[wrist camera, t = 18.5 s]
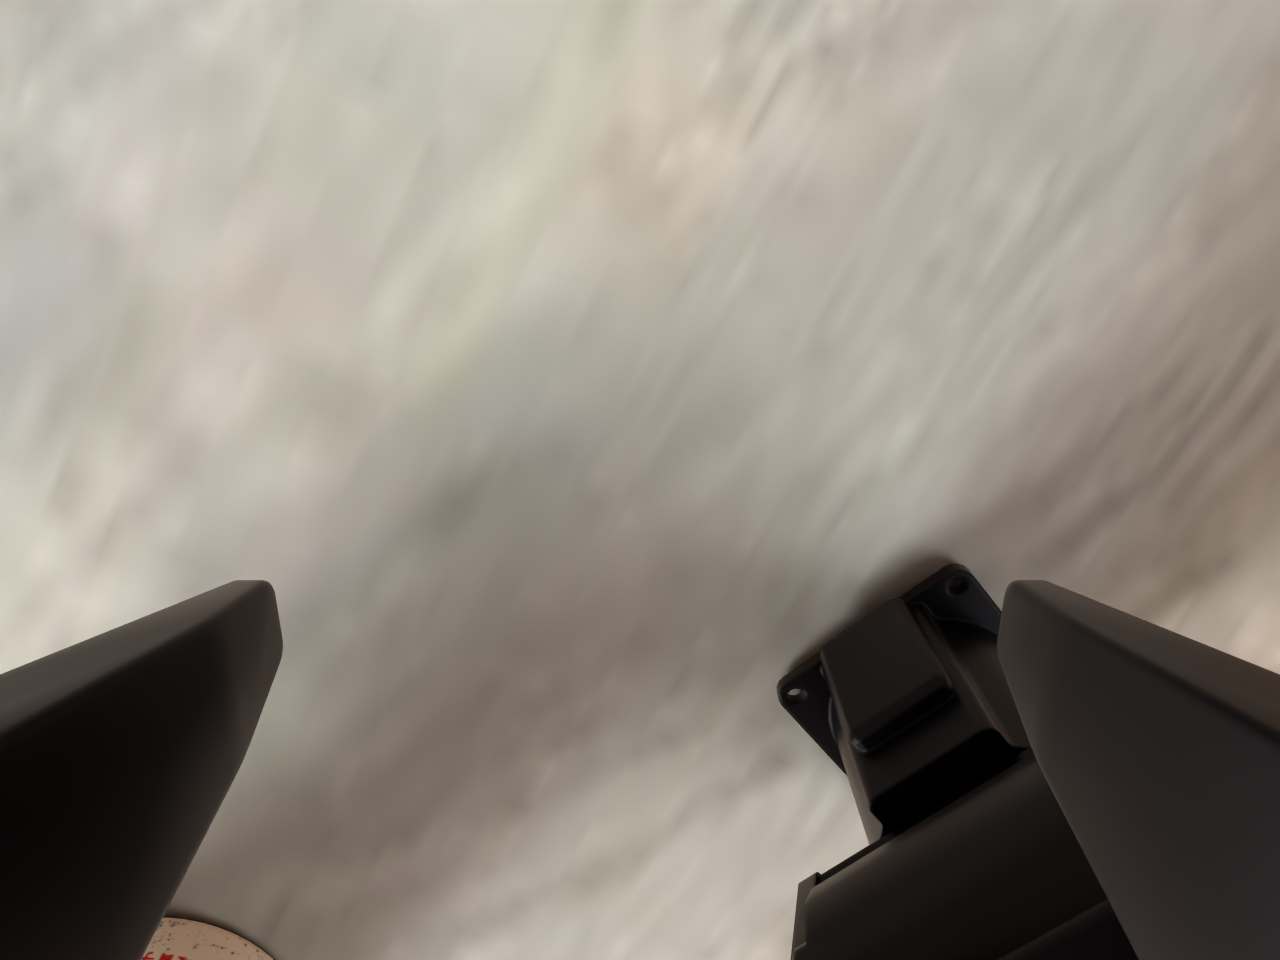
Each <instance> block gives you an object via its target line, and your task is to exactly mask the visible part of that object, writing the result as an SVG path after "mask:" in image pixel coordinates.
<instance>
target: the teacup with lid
mask: <svg viewBox="0 0 1280 960" xmlns="http://www.w3.org/2000/svg"><path fill="white" fill-rule="evenodd" d="M141 960H273V959H272V958H271V957H270V956H269V955H268V954H266V953H265V952H264V951H263V950H261V949H260V948H258V947H257V946H255V945H254V944H252V943H251V942H249V941H247V940H245V939H243V938H242V937H240V936H238V935H235V934H233V933H231V932H229V931H226V930H224V929H221V928H218V927H215V926H212V925H209V924H205V923H201V922H197V921H192V920H186V919H178V918H162V920H161V922H160V924H159V926H158V928H157V930H156V932H155V934H154V936H153V938H152V940H151V941H150V943H149V945H148V947H147V949H146V951H145V953H144V955H143V957H142V959H141Z"/></svg>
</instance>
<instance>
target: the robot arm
mask: <svg viewBox="0 0 1280 960" xmlns="http://www.w3.org/2000/svg"><path fill="white" fill-rule="evenodd" d="M957 578H961V579H962V583H961V584H960V585H959V586H958V587H955V588H949V584H950V582H951V581H952V580H954V579H957ZM282 651H283V640H282V633H281V627H280V621H279V615H278V609H277V602H276V596H275V592H274V589H273V587H272V585H271V584H270V583H269V582H267V581H264V580H237V581H233V582H230V583H228V584H225V585H223V586H220V587H218V588H215V589H213V590H210V591H208V592H205V593H203V594H200V595H198V596H195V597H193V598H190V599H188V600H185V601H183V602H180V603H178V604H175V605H173V606H170V607H168V608H165V609H163V610H160V611H158V612H155V613H153V614H150V615H148V616H145V617H143V618H140V619H138V620H135V621H133V622H130V623H128V624H125V625H123V626H120V627H118V628H115V629H113V630H110V631H108V632H105V633H103V634H100V635H98V636H95V637H93V638H90V639H88V640H85V641H83V642H80V643H78V644H75V645H73V646H70V647H68V648H65V649H63V650H60V651H58V652H55V653H53V654H50V655H48V656H45V657H43V658H40V659H38V660H36V661H33V662H31V663H28V664H26V665H23V666H21V667H18V668H16V669H13V670H11V671H8V672H6V673H3V674H1V675H0V960H141V959H142V957H143V955H144V953H145V951H146V949H147V947H148V945H149V943H150V941H151V940H152V938H153V936H154V934H155V932H156V930H157V928H158V926H159V924H160V922H161V920H162V918H163V916H164V914H165V912H166V910H167V908H168V906H169V905H170V903H171V901H172V899H173V897H174V895H175V893H176V891H177V889H178V887H179V885H180V883H181V881H182V879H183V877H184V875H185V873H186V871H187V870H188V868H189V866H190V864H191V862H192V860H193V858H194V856H195V854H196V852H197V850H198V848H199V846H200V844H201V842H202V840H203V838H204V836H205V835H206V833H207V831H208V829H209V827H210V825H211V823H212V821H213V819H214V817H215V815H216V813H217V811H218V809H219V807H220V805H221V803H222V801H223V800H224V798H225V796H226V794H227V792H228V790H229V788H230V786H231V784H232V782H233V780H234V778H235V776H236V774H237V772H238V770H239V768H240V766H241V764H242V762H243V759H244V757H245V754H246V752H247V750H248V747H249V745H250V742H251V739H252V737H253V734H254V731H255V728H256V726H257V723H258V720H259V718H260V715H261V712H262V710H263V707H264V704H265V701H266V699H267V696H268V693H269V691H270V688H271V685H272V683H273V680H274V677H275V674H276V672H277V669H278V666H279V664H280V661H281V657H282ZM792 689H801V690H802V691H801V692H800V693H799V694H798V695H795V696H794V695H789V694H788V692H789V691H790V690H792ZM777 694H778V698H779V701H780V703H781V705H782V706H783V707H784V708H785V709H786V710H787V711H788V713H789V714H790V715H791V716H792V717H793V718H794V719H795V720H796V721H797V722H798V723H799V724H800V725H801V727H802V728H803V729H804V730H805V731H806V732H807V733H808V734H809V735H810V736H811V737H812V738H813V740H814V741H815V742H816V743H817V744H818V745H819V746H820V747H821V748H822V749H823V750H824V751H825V752H826V754H827V755H828V756H829V757H830V758H831V759H832V760H833V761H834V762H835V763H836V764H837V765H838V767H839V768H840V769H841V770H842V771H843V772H844V773H845V774H846V775H847V776H848V779H849V782H850V786H851V789H852V792H853V795H854V798H855V801H856V804H857V807H858V811H859V814H860V817H861V820H862V823H863V826H864V829H865V832H866V835H867V839H868V842H869V846H867V847H866V848H864V849H862V850H861V851H859V852H857V853H856V854H854V855H853V856H851V857H849V858H848V859H846V860H844V861H843V862H841V863H840V864H838V865H836V866H835V867H833V868H831V869H830V870H828V871H827V872H825V873H823V874H822V875H821V874H820V873H819V872H816V873H815V874H813V875H811V876H810V877H808V878H806V879H805V880H803V881H802V882H800V883H799V885H798V894H797V904H796V914H795V923H794V933H793V943H792V953H791V960H1280V675H1279V674H1277V673H1274V672H1272V671H1269V670H1267V669H1264V668H1262V667H1259V666H1257V665H1254V664H1252V663H1249V662H1247V661H1244V660H1242V659H1240V658H1237V657H1235V656H1232V655H1230V654H1227V653H1225V652H1222V651H1220V650H1217V649H1215V648H1212V647H1210V646H1207V645H1205V644H1202V643H1200V642H1197V641H1195V640H1192V639H1190V638H1187V637H1185V636H1182V635H1180V634H1177V633H1175V632H1172V631H1170V630H1167V629H1165V628H1162V627H1160V626H1157V625H1155V624H1152V623H1150V622H1147V621H1145V620H1142V619H1140V618H1137V617H1135V616H1132V615H1130V614H1127V613H1125V612H1122V611H1120V610H1117V609H1115V608H1112V607H1110V606H1107V605H1105V604H1102V603H1100V602H1097V601H1095V600H1092V599H1090V598H1087V597H1085V596H1082V595H1080V594H1077V593H1075V592H1072V591H1070V590H1067V589H1065V588H1062V587H1060V586H1057V585H1055V584H1052V583H1050V582H1047V581H1043V580H1016V581H1013V582H1011V583H1010V584H1009V585H1008V587H1007V589H1006V592H1005V596H1004V602H1003V609H1002V611H1001V610H1000V609H999V608H998V606H997V605H996V604H995V602H994V601H993V600H992V599H991V597H990V596H989V595H988V594H987V592H986V591H985V590H984V588H983V587H982V586H981V585H980V583H979V582H978V581H977V580H976V578H975V577H974V576H973V575H972V573H971V572H970V571H969V569H967V568H966V567H965V566H964V565H960V564H950V565H947V566H945V567H943V568H942V569H940V570H939V571H937V572H936V573H934V574H933V575H932V576H930V577H929V578H927V579H926V580H924V581H923V582H921V583H920V584H918V585H917V586H915V587H914V588H913V589H911V590H910V591H908V592H907V593H905V594H904V595H902V596H901V597H899V598H898V599H891V600H889V601H888V602H886V603H885V604H883V605H882V606H881V607H879V608H878V609H876V610H875V611H873V612H872V613H870V614H869V615H867V616H866V617H865V618H863V619H862V620H860V621H859V622H857V623H856V624H854V625H853V626H851V627H850V628H848V629H847V630H846V631H844V632H843V633H841V634H840V635H838V636H837V637H835V638H834V639H832V640H831V641H830V642H828V643H827V644H825V645H824V646H823V647H822V650H821V652H819V653H818V654H816V655H815V656H813V657H812V658H810V659H809V660H807V661H806V662H804V663H803V664H802V665H800V666H799V667H797V668H796V669H794V670H793V671H791V672H790V673H788V674H787V675H785V676H784V677H783V678H782V679H781V680H780V681H779V683H778V685H777Z"/></svg>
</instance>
